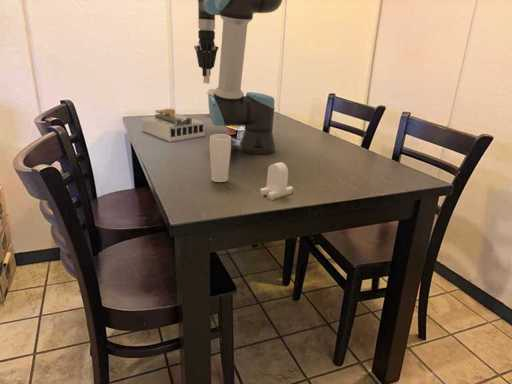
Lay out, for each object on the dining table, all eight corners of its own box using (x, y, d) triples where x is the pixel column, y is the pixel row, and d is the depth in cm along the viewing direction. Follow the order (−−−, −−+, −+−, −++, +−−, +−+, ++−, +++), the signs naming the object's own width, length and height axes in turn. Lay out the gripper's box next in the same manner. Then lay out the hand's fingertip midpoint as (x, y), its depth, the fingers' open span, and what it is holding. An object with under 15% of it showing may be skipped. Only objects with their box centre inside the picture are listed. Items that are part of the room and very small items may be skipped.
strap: (188, 124, 171) (188, 120, 170) (180, 125, 168) (180, 121, 167) (162, 116, 184) (162, 112, 184) (154, 117, 182) (154, 113, 181)
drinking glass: (231, 184, 125) (233, 139, 119) (211, 185, 123) (211, 139, 117) (227, 176, 131) (228, 133, 125) (207, 177, 129) (208, 133, 123)
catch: (174, 116, 183) (174, 109, 182) (160, 118, 178) (160, 111, 177) (170, 115, 186) (170, 108, 185) (155, 116, 181) (155, 109, 179)
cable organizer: (259, 194, 118) (261, 163, 114) (281, 188, 124) (283, 158, 120) (271, 200, 114) (273, 168, 110) (293, 193, 121) (296, 162, 117)
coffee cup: (209, 114, 227) (209, 88, 221) (225, 115, 226) (225, 89, 220) (205, 117, 218) (205, 90, 212) (221, 118, 217) (222, 91, 211)
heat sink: (204, 136, 179) (204, 116, 176) (169, 141, 167) (168, 121, 163) (177, 126, 193) (176, 108, 190) (143, 131, 181) (142, 112, 177)
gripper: (212, 30, 183) (211, 81, 192) (190, 29, 174) (190, 82, 183) (222, 31, 178) (221, 83, 187) (200, 29, 169) (200, 84, 178)
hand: (206, 83), depth 185 cm, fingers closed
